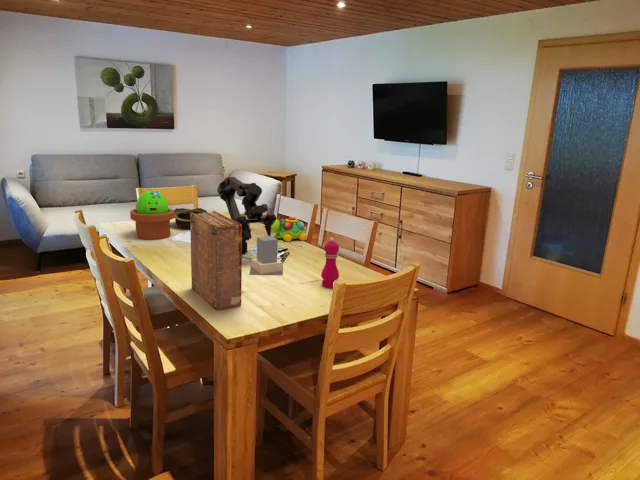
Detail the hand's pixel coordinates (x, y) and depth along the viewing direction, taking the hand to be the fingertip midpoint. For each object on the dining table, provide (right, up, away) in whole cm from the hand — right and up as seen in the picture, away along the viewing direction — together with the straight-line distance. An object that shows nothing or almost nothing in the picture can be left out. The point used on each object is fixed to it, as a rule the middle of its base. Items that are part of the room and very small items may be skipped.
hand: (260, 237), depth 213 cm
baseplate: (+3, -15, -3) cm, 16 cm away
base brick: (+3, -14, -3) cm, 15 cm away
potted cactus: (-63, +1, +46) cm, 78 cm away
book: (-13, -22, -34) cm, 42 cm away
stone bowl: (-49, +7, +72) cm, 87 cm away
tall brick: (+3, -10, -5) cm, 12 cm away
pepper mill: (+30, -20, -16) cm, 40 cm away
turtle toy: (+8, -1, +54) cm, 55 cm away
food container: (-17, +4, +67) cm, 69 cm away
